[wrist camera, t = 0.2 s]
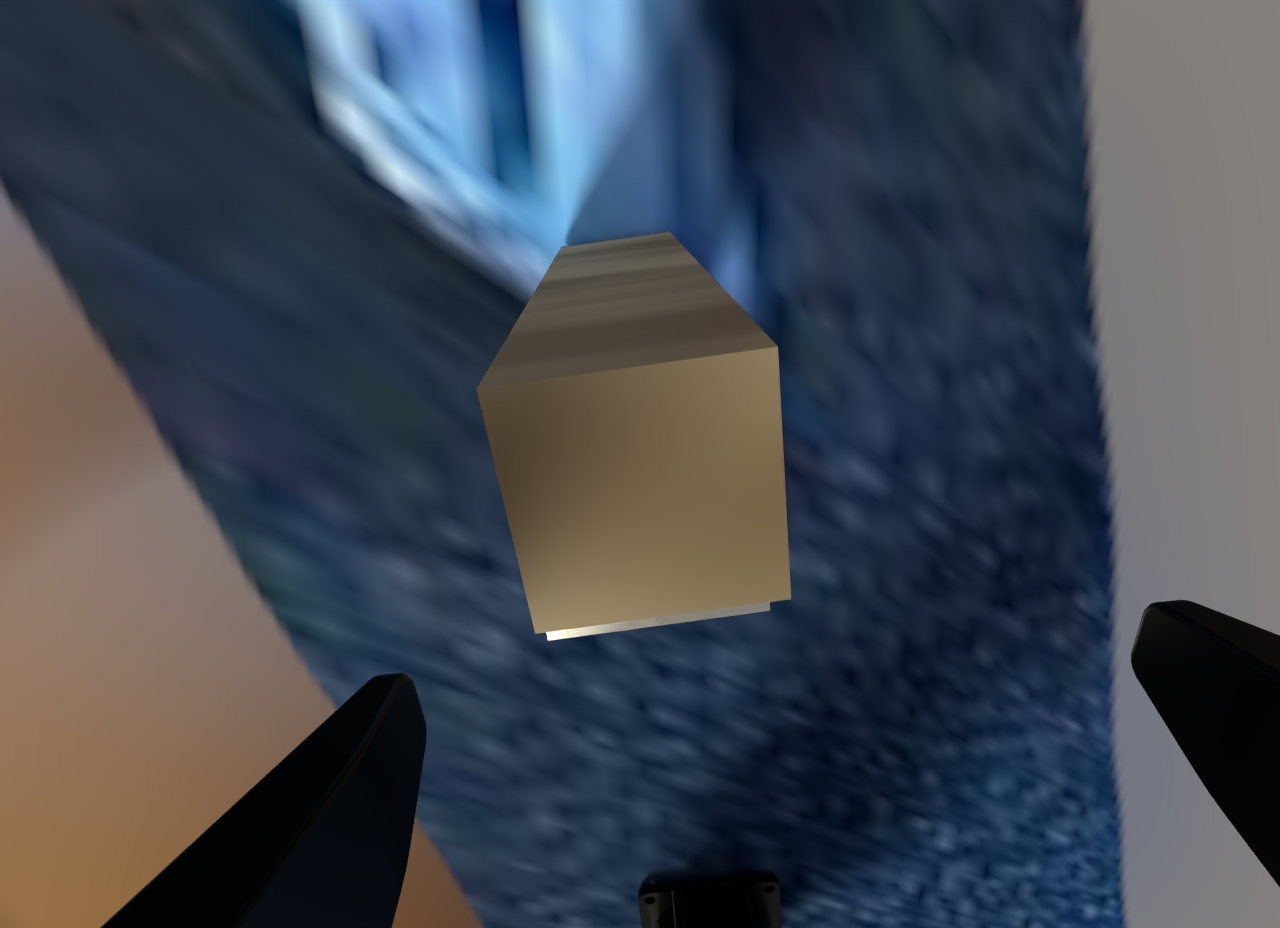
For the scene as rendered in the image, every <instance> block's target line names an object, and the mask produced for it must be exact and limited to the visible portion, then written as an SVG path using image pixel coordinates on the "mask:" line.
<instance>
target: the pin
mask: <svg viewBox="0 0 1280 928" xmlns="http://www.w3.org/2000/svg"><path fill="white" fill-rule="evenodd" d="M477 393H478V397H479V401H480V405H481V409H482V413H483V418H484V422H485V426H486V430H487V434H488V438H489V443H490V447H491V451H492V455H493V459H494V463H495V468H496V472H497V476H498V480H499V484H500V488H501V493H502V497H503V501H504V505H505V509H506V513H507V517H508V522H509V526H510V530H511V534H512V538H513V542H514V547H515V551H516V555H517V559H518V563H519V567H520V572H521V576H522V580H523V584H524V588H525V592H526V597H527V601H528V605H529V609H530V613H531V617H532V622H533V626H534V630H535V634H537V633H544V632H552V631H559V630H567V629H574V628H581V627H589V626H596V625H603V624H611V623H618V622H626V621H633V620H640V619H648V618H655V617H662V616H670V615H677V614H685V613H692V612H699V611H707V610H714V609H721V608H729V607H736V606H744V605H751V604H758V603H766V602H773V601H781V600H788V599H791V588H790V569H789V550H788V530H787V511H786V492H785V473H784V454H783V434H782V415H781V396H780V377H779V358H778V346H777V345H776V344H775V343H774V342H773V341H772V340H771V339H770V338H769V337H768V336H767V335H766V333H765V332H764V331H763V330H762V329H761V328H760V327H759V326H758V325H757V324H756V323H755V322H754V321H753V320H752V319H751V317H750V316H749V315H748V314H747V313H746V312H745V311H744V310H743V309H742V308H741V307H740V306H739V305H738V304H737V303H736V302H735V300H734V299H733V298H732V297H731V296H730V295H729V294H728V293H727V292H726V291H725V290H724V289H723V288H722V287H721V286H720V284H719V283H718V282H717V281H716V280H715V279H714V278H713V277H712V276H711V275H710V274H709V273H708V272H707V271H706V270H705V269H704V267H703V266H702V265H701V264H700V263H699V262H698V261H697V260H696V259H695V258H694V257H693V256H692V255H691V254H690V253H689V251H688V250H687V249H686V248H685V247H684V246H683V245H682V244H681V243H680V242H679V241H678V240H677V239H676V238H675V237H674V236H673V234H672V233H671V232H670V231H668V232H661V233H654V234H647V235H640V236H633V237H626V238H619V239H612V240H605V241H598V242H591V243H584V244H577V245H570V246H564V247H561V249H560V250H559V252H558V254H557V255H556V257H555V259H554V260H553V262H552V264H551V265H550V267H549V269H548V270H547V272H546V274H545V275H544V277H543V279H542V280H541V282H540V284H539V285H538V287H537V289H536V290H535V292H534V294H533V296H532V297H531V299H530V301H529V302H528V304H527V306H526V307H525V309H524V311H523V312H522V314H521V316H520V317H519V319H518V321H517V322H516V324H515V326H514V327H513V329H512V331H511V332H510V334H509V336H508V337H507V339H506V341H505V343H504V344H503V346H502V348H501V349H500V351H499V353H498V354H497V356H496V358H495V359H494V361H493V363H492V364H491V366H490V368H489V369H488V371H487V373H486V374H485V376H484V378H483V379H482V381H481V383H480V384H479V386H478V388H477Z"/></svg>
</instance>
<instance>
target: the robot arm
mask: <svg viewBox="0 0 1280 928" xmlns="http://www.w3.org/2000/svg"><path fill="white" fill-rule="evenodd" d="M1131 663H1132V668H1133V670H1134V673H1135V675H1136V677H1137V679H1138V680H1139V682H1140V684H1141V685H1142V687H1143V688H1144V690H1145V691H1146V693H1147V695H1148V696H1149V698H1150V700H1151V701H1152V703H1153V704H1154V706H1155V708H1156V709H1157V711H1158V712H1159V714H1160V716H1161V717H1162V719H1163V720H1164V722H1165V724H1166V725H1167V727H1168V728H1169V730H1170V732H1171V733H1172V735H1173V736H1174V738H1175V740H1176V741H1177V743H1178V745H1179V746H1180V748H1181V749H1182V751H1183V753H1184V754H1185V756H1186V757H1187V759H1188V761H1189V762H1190V764H1191V765H1192V767H1193V768H1194V770H1195V772H1196V773H1197V775H1198V776H1199V778H1200V779H1201V781H1202V782H1203V784H1204V786H1205V787H1206V789H1207V790H1208V792H1209V793H1210V795H1211V796H1212V797H1213V799H1214V800H1215V801H1216V803H1217V804H1218V806H1219V807H1220V808H1221V810H1222V811H1223V813H1224V814H1225V815H1226V817H1227V818H1228V819H1229V820H1230V822H1231V823H1232V825H1233V826H1234V827H1235V828H1236V830H1237V831H1238V832H1239V834H1240V835H1241V836H1242V838H1243V839H1244V840H1245V842H1246V843H1247V844H1248V846H1249V847H1250V848H1251V850H1252V851H1253V852H1254V854H1255V855H1256V856H1257V857H1258V859H1259V860H1260V862H1261V863H1262V864H1263V866H1264V867H1265V868H1266V870H1267V871H1268V872H1269V874H1270V875H1271V876H1272V877H1273V879H1274V880H1275V881H1276V883H1277V884H1278V886H1279V887H1280V636H1279V635H1277V634H1274V633H1272V632H1269V631H1266V630H1264V629H1261V628H1259V627H1256V626H1254V625H1251V624H1249V623H1246V622H1243V621H1240V620H1238V619H1235V618H1233V617H1230V616H1228V615H1225V614H1223V613H1220V612H1217V611H1215V610H1212V609H1210V608H1207V607H1204V606H1202V605H1200V604H1197V603H1194V602H1191V601H1187V600H1176V601H1165V602H1156V603H1153V604H1150V605H1149V606H1148V607H1147V608H1146V609H1145V611H1144V613H1143V616H1142V619H1141V623H1140V626H1139V629H1138V633H1137V636H1136V639H1135V643H1134V646H1133V649H1132V653H1131ZM426 735H427V733H426V722H425V719H424V715H423V712H422V708H421V705H420V702H419V698H418V695H417V691H416V688H415V685H414V682H413V680H412V678H411V676H410V675H408V674H406V673H396V674H385V675H378V676H375V677H373V678H372V679H370V680H369V681H368V682H367V683H366V684H365V685H364V686H362V687H361V688H360V689H359V690H358V691H357V692H356V693H355V694H354V695H353V696H352V697H350V698H349V699H348V700H347V701H346V702H345V703H344V704H343V705H342V706H341V707H340V708H338V709H337V710H336V711H335V712H334V713H333V714H332V715H331V716H330V717H329V718H328V719H327V720H325V721H324V722H323V723H322V724H321V725H320V726H319V727H318V728H317V729H316V730H315V731H313V732H312V733H311V734H310V735H309V736H308V737H307V738H306V739H305V740H304V741H303V742H302V743H300V744H299V745H298V746H297V747H296V748H295V749H294V750H293V751H292V752H291V753H290V754H288V755H287V756H286V757H285V758H284V759H283V760H282V761H281V762H280V763H279V764H278V765H277V766H275V767H274V768H273V769H272V770H271V771H270V772H269V773H268V774H267V775H266V776H265V777H263V779H261V780H260V781H259V782H258V783H257V784H256V785H255V786H254V787H253V788H252V789H250V790H249V791H248V792H247V793H246V794H245V795H244V796H243V797H242V798H241V799H240V800H238V802H236V803H235V804H234V805H233V806H232V807H231V808H230V809H229V810H228V811H227V812H226V813H224V814H223V815H222V816H221V817H220V818H219V819H218V820H217V821H216V822H215V823H213V824H212V825H211V826H210V827H209V828H208V829H207V830H206V831H205V832H204V833H203V834H202V835H200V836H199V837H198V838H197V839H196V840H195V841H194V842H193V843H192V844H191V845H190V846H188V847H187V848H186V849H185V850H184V851H183V852H182V853H181V854H180V855H179V856H178V857H177V858H175V859H174V860H173V861H172V862H171V863H170V864H169V865H168V866H167V867H166V868H164V870H162V871H161V872H160V873H159V874H158V875H157V876H156V877H155V878H154V879H153V880H151V881H150V882H149V883H148V884H147V885H146V886H145V887H144V888H143V889H142V890H141V891H140V892H138V893H137V894H136V895H135V896H134V897H133V898H132V899H131V900H130V901H129V902H128V903H126V904H125V905H124V906H123V907H122V908H121V909H120V910H119V911H118V912H117V913H116V914H114V915H113V916H112V917H111V918H110V919H109V920H108V921H107V922H106V923H105V924H104V925H103V926H102V927H100V928H392V924H393V920H394V916H395V912H396V909H397V905H398V901H399V897H400V893H401V889H402V884H403V880H404V876H405V872H406V868H407V862H408V856H409V851H410V844H411V838H412V831H413V825H414V818H415V812H416V805H417V799H418V792H419V786H420V779H421V772H422V766H423V759H424V753H425V746H426ZM639 907H640V915H641V923H642V928H780V886H779V882H778V878H777V877H776V876H775V875H773V874H759V875H748V876H737V877H727V878H716V879H706V880H695V881H684V882H674V883H663V884H652V885H646V886H643V887H641V888H640V890H639Z"/></svg>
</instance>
